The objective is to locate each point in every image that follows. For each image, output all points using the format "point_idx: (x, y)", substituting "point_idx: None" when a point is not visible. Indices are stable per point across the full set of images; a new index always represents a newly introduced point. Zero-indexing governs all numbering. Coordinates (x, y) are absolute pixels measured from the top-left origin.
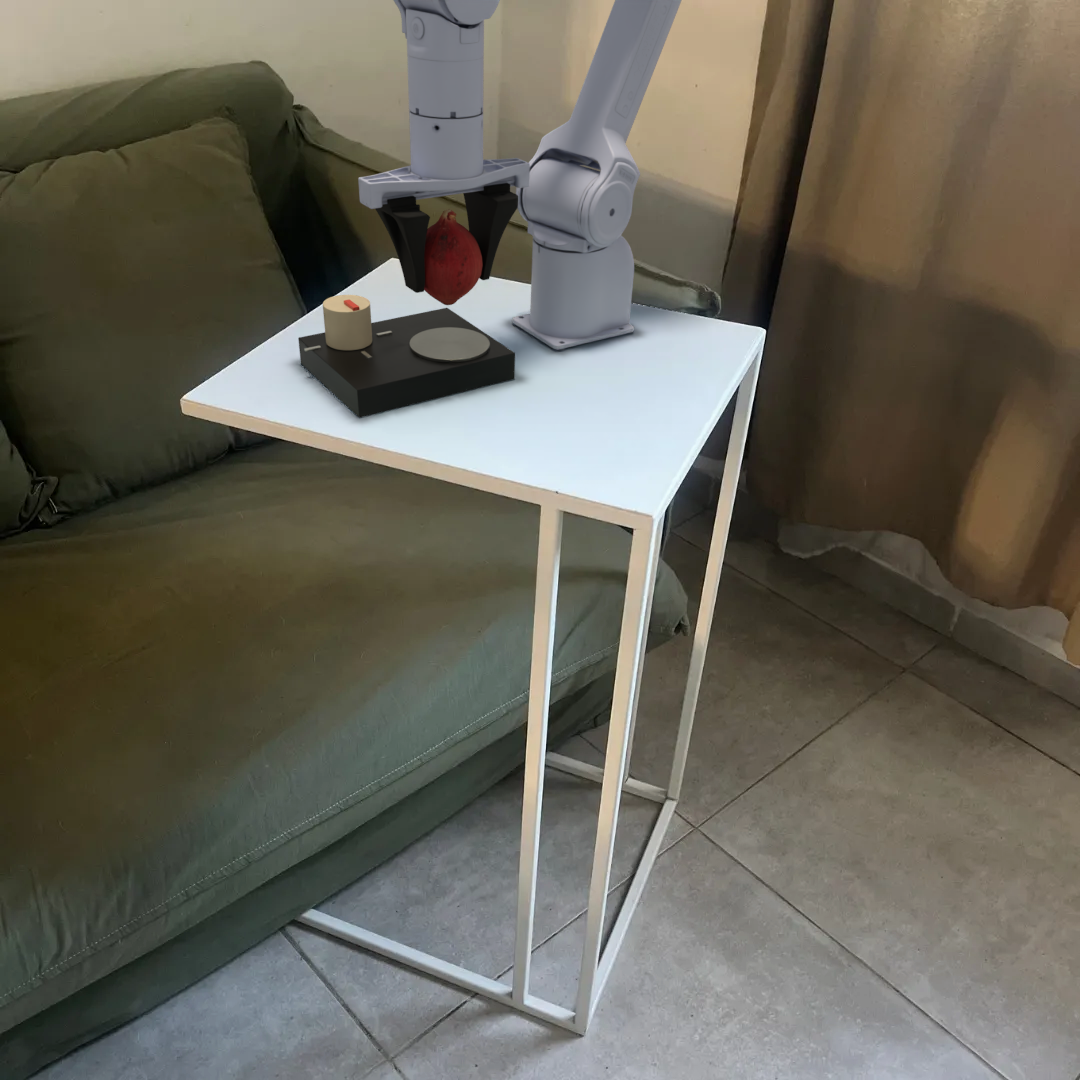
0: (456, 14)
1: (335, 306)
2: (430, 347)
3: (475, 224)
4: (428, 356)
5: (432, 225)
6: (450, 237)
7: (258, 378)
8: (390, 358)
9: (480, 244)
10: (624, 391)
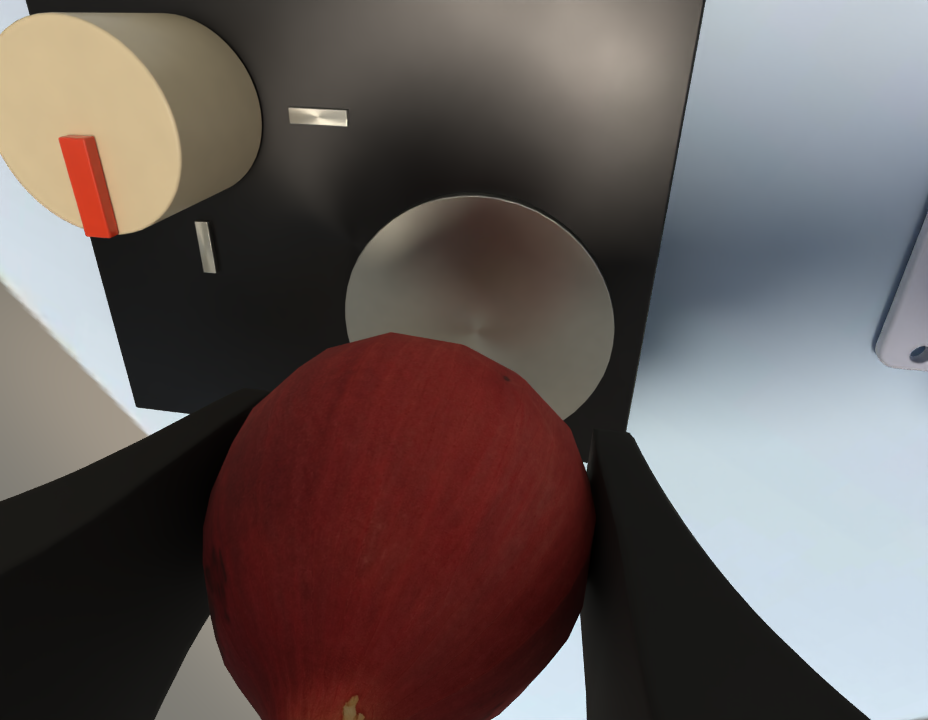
0: None
1: (31, 144)
2: (402, 325)
3: (612, 677)
4: None
5: (254, 647)
6: None
7: None
8: (270, 301)
9: (597, 622)
10: (792, 596)
